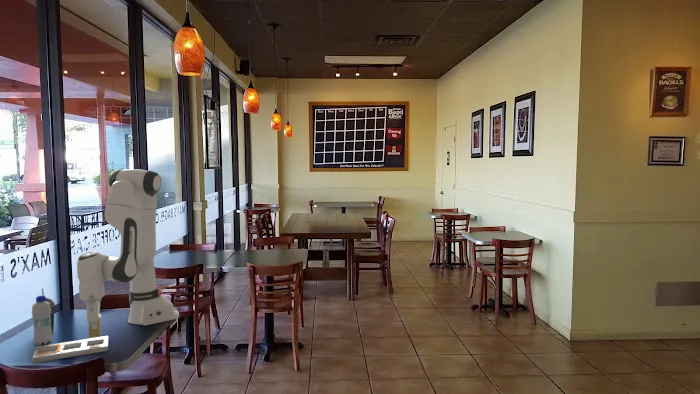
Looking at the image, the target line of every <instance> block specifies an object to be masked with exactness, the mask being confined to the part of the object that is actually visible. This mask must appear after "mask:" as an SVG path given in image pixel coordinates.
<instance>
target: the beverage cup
mask: <svg viewBox="0 0 700 394" xmlns="http://www.w3.org/2000/svg"><path fill="white" fill-rule="evenodd" d="M41 294H42V295H41V296H45V293H44V288H41ZM46 301H47V302H49V303H50V307H51V314H50V317H51V330H52V334H54V330H55V329H54V328H55V311H56V304H55V301H54V300H53V299H51V298H49V297H46Z"/></svg>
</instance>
